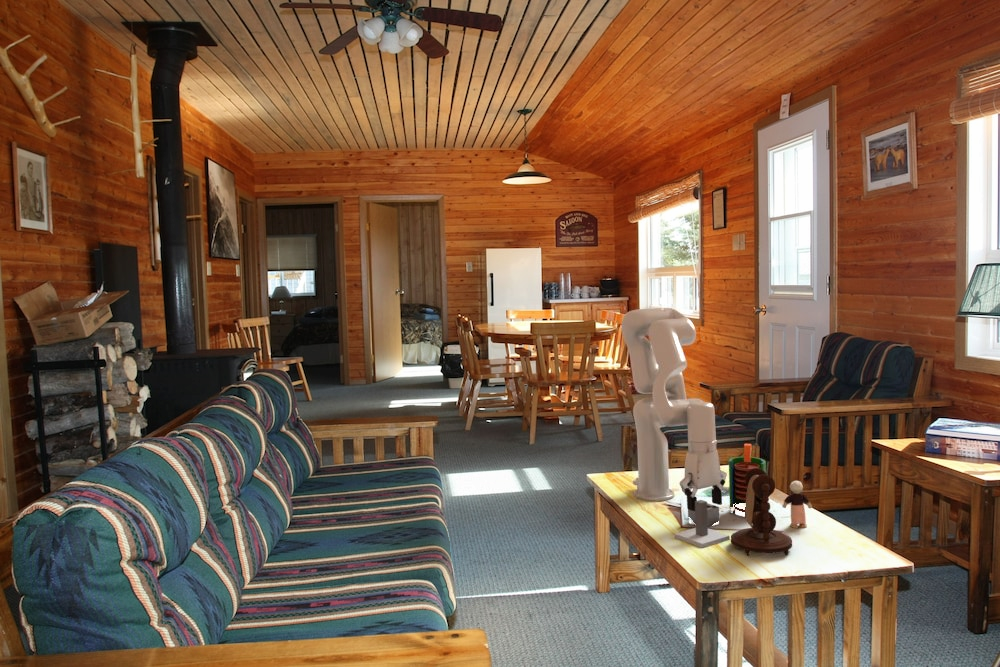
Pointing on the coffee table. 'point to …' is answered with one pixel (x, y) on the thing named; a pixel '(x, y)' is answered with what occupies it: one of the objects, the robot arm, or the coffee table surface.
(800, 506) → the grandmother figurine
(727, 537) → the shaft block
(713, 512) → the grey square holed block
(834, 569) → the coffee table surface
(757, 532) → the dark brown upright piece
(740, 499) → the motor
